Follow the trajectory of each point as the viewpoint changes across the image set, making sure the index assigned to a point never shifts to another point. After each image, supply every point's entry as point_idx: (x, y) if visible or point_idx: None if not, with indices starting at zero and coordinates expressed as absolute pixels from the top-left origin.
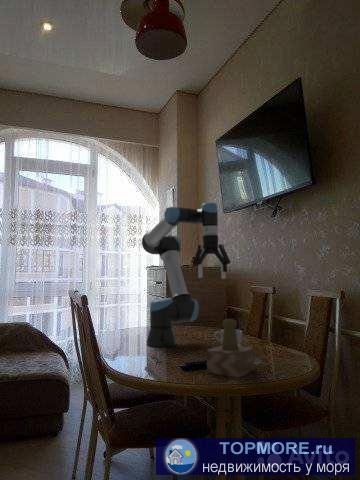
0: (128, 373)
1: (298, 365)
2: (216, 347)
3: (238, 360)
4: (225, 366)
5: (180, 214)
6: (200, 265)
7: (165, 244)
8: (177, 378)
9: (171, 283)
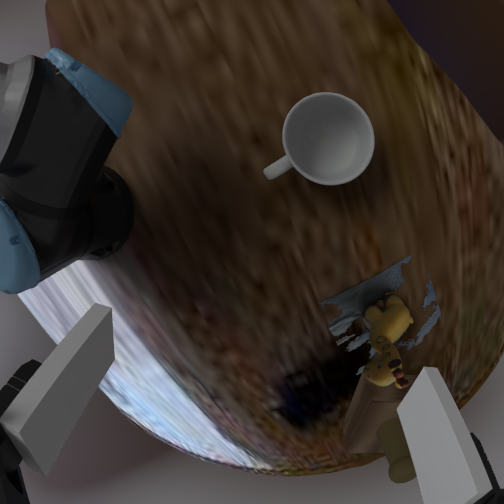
0: (216, 458)
1: (501, 305)
2: (362, 431)
3: None
4: None
5: None
6: (40, 450)
7: None
8: (304, 457)
9: None
